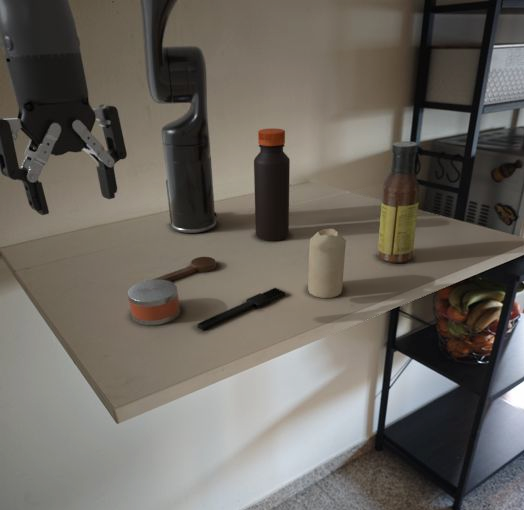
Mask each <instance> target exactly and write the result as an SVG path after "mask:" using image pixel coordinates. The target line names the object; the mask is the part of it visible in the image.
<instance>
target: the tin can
mask: <svg viewBox="0 0 524 510" xmlns="http://www.w3.org/2000/svg"><path fill="white" fill-rule="evenodd" d="M127 297H128V303H129V308H130V313H131V318H132V319H133V321H134V322H136V323H137V324H140V325H144V326H160V325H164V324H167V323H170V322H172V321H174V320H175V319H176V318H177V317H179V316H180V313H181V310H180V309H181V308H180V301H179V300H180V299H179V292H178V286H177V285H176V284H175V282H172V281H167V280H152V279H148V280H144V281H140V282H138V283H135V284H133V285H132V286H131V287H130V288H129V289H128V290H127Z"/></svg>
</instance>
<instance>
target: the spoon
mask: <svg viewBox="0 0 524 510" xmlns="http://www.w3.org/2000/svg"><path fill="white" fill-rule="evenodd" d="M216 268H217V264H216V259H215V258H213V257H210V256H198V257H196V258H193V259H192V260H191V261H190V265H189V266H186V267H184V268H183V267H182V268H181V269H178V270H175V271H172V272H169V273H166V274H164V275H161V276H158V277H155V278H152V279H151V280H167V281H170V282H172V281H175V280H178V279H181V278H184V277H186V276H189V275H191V274H194V273H197V272H198V273H207V272H211V271H213V270H215V269H216Z"/></svg>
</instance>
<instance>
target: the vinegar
mask: <svg viewBox="0 0 524 510" xmlns="http://www.w3.org/2000/svg"><path fill="white" fill-rule="evenodd" d="M257 133H258V135H257V137H258V138H257V139H258V147H259V150H260V151H259V152H258V154H257V155H256V156H255V157H254V159H253V179H254V180H253V181H254V182H253V183H254V185H253V187H254V218H255V221H254V223H255V224H254V225H255V236H256V237H257V238H258V239H259V240H262V241H267V242H277V241H281V240H284V239H286V238H288V236H289V234H290V170H291V168H290V166H291V165H290V163H291V160H290V158H289V156H288V154H287V153H285V151H284V147H285V144H286V130H284V129H282V128H273V127H272V128H263V129H259V130H258V131H257Z"/></svg>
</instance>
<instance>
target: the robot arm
mask: <svg viewBox="0 0 524 510" xmlns="http://www.w3.org/2000/svg"><path fill="white" fill-rule="evenodd" d="M178 2H179V0H139V5H140V13H141V14H140V15H141V26H142V39H143V52H144V64H145V65H144V66H145V77H146V83H147V89H148V92H149V96H150V98H151V99H152V101H153V102H154V103H156V104H159V105H160V104H161V105H175V104H190V105H189V109H188V110H187V111H186V113H184V114H183V115H182V116H180V117H179V118H177V119H175V120H173V121H171V122H168V123H166V124H165V125H164V126H162V128H161V140H162V149H163V156H164V165H165V172H166V180H165V187H166V197H167V205H168V211H169V212H168V213H169V220H170V225H171V227H172V229H173V230H174V231H176V232H178V233H185V234H198V233H199V234H200V233H204V232H207V231H210V230H212V229H214V228H216V226H217V220H216V218H217V212H216V210H215V195H214V181H213V167H212V153H211V139H210V127H209V116H208V88H207V87H208V84H207V83H208V82H207V81H208V77H207V65H206V58H205V55H204V52H203V50H202V49H201V48H200V47H199V46H196V45H177V46H176V45H174V46H173V45H172V46H171V45H169V46H164V45H163V44H164V38H165V34H166V29H167V27H168V24H169V20H170V17H171V16H172V13H173V11H174V9H175V7H176V5H177V3H178ZM70 5H71V4H70V1H69V0H0V44H1V48H2V52H3V56H4V59H5V63H6V66H7V72H8V74H9V75H8V76H9V79H10V82H11V83H10V84H11V86H12V90H13V94H14V98H15V102H16V104H17V108H18V110H17V111H18V113H17V117H11V118H1V117H0V173H1V174H2V175H3V176H4V177H7V178H9V179H10V180H14V181H21V182H22V184H23V188H24V191H25V195H26V198H27V203H28V205H29V207H30V208H31V209H32V210H34V211H36V213H37V214H39V215H40V216H45V215H49V214H50V210H49V206H48V203H47V198H46V195H45V191H44V187H43V182H42V181H41V180H39V177H40V176H41V173H42V170H43V168H44V166H46V165H47V163H48V161H49V159H50V156H51V155H53V156H55V157H56V156H58V157H59V156H63V155H65V154H67V153H70V152H71V153H81V152H83V151H84V152H85V153H87V154H88V155H89V156H90V157H91V158H92V159H93V161H95V162H96V164H98V165H97V166H96V167H95V168H96V172H97V178H98V182H99V183H98V184H99V188H100V193H101V196H102V197H103V198H105V199H106V200H112V199H115V198H116V194H117V193H118V183H117V178H116V173H115V165H116V164H117V163H118V162H119V161H121V160H125V159H126V158H127V156H128V153H127V149H126V144H125V139H124V134H123V129H122V124H121V121H120V120H121V119H120V115H119V110H118V108H117V107H116V106H115V105H109V104H103V103H102V104H99V106H98V107H95V108H92V106H91V104H90V102H89V101H90V100H89V90H88V89H89V88H88V83H87V78H86V74H85V73H86V72H85V68H84V63H83V57H82V53H81V42H80V38H79V36H78V31H77V26H76V22H75V21H76V20H75V18H74V15H73V12H72V8H71V6H70ZM96 121H97V124H98V125H99V126H100V127H102V133H103V137H104V140H105V144H106V149H107V150H106V149H105V147H104V146H103V144H102V143H101V142H100V141H99V140H98V139H97V137H95V135H93V133H92V131H93V128H94V126H95V123H96ZM20 130H21V131H22V132H23V134H24V135H26V136H27V137H28V138H29V141H28V143H27V145H26V147H25V150H24V153H23V156H24V157H23V160H22V162H21V165H20V166H19V161H18V157H17V152H16V148H15V143H14V141H16V140H17V139H18V133H19V131H20Z"/></svg>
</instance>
